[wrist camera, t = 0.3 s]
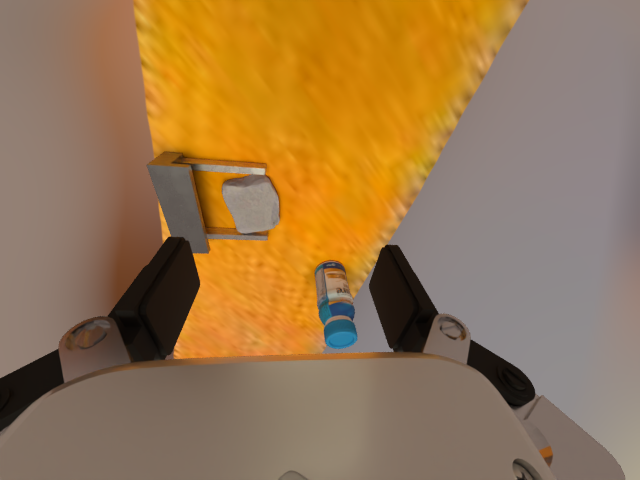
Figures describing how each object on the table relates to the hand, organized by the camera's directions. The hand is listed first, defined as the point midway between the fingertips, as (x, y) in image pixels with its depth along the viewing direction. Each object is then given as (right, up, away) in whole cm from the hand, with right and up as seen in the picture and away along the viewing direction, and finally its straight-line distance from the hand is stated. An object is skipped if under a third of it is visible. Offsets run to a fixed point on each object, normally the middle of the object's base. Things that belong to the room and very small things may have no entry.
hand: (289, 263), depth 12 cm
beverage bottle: (+4, -7, +52) cm, 52 cm away
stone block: (-12, +9, +37) cm, 40 cm away
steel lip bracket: (-18, +9, +36) cm, 41 cm away
